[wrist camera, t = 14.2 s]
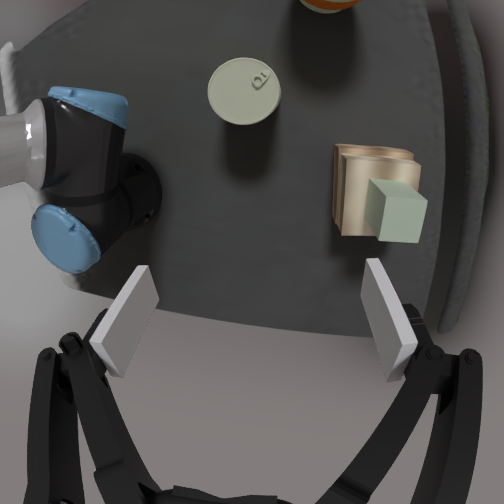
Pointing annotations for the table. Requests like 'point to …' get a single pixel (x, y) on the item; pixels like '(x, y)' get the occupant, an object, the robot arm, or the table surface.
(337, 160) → the block
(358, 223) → the tower top
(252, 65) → the can
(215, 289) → the table surface
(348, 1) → the reusable coffee cup
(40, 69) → the table surface
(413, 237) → the green block
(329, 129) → the table surface
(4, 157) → the robot arm
